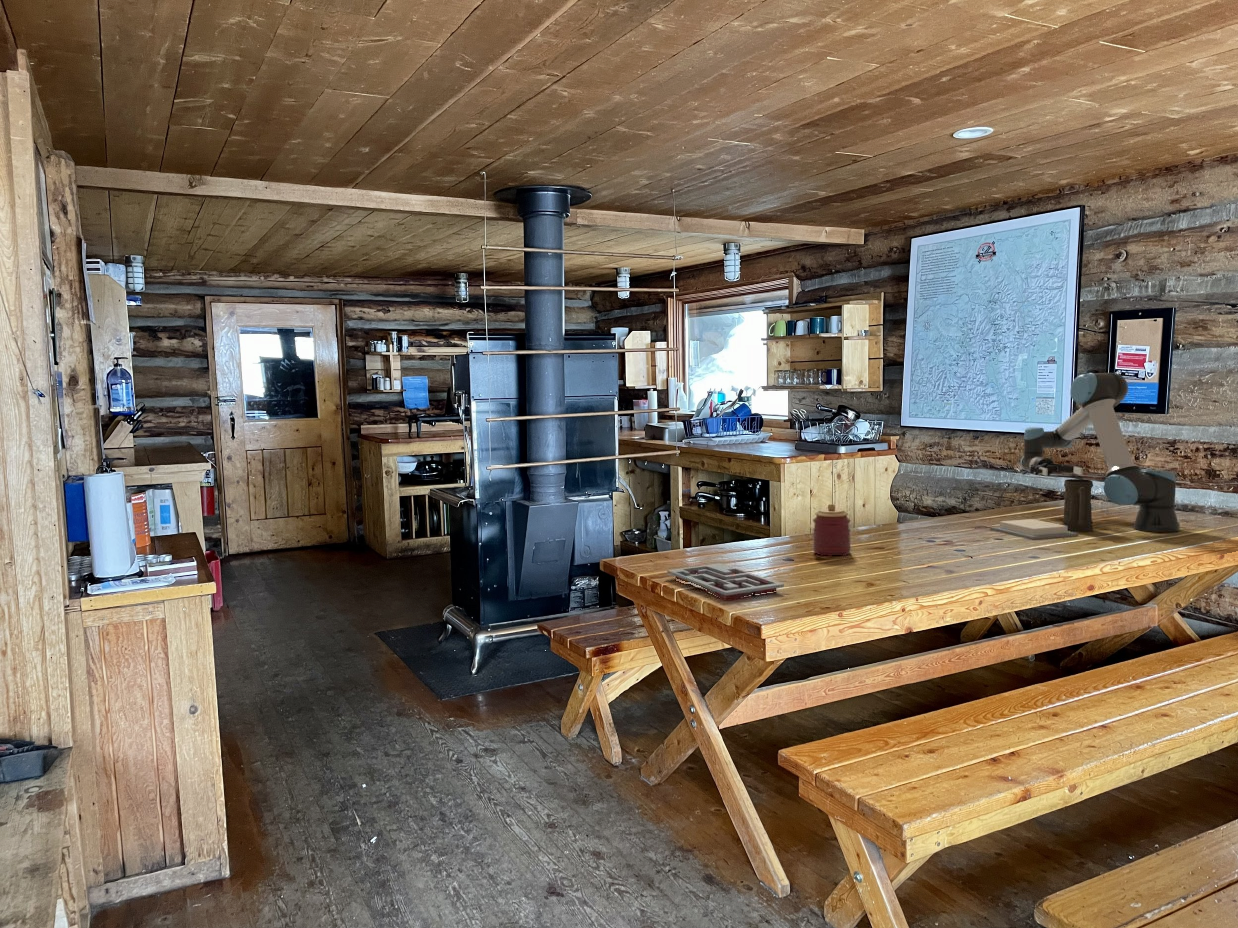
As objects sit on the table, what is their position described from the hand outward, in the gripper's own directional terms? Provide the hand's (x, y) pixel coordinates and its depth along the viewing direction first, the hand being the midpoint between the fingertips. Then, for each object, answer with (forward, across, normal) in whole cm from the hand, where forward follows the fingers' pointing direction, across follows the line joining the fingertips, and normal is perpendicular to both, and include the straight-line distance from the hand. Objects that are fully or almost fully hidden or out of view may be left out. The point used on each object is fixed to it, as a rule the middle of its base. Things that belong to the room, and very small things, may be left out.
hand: (1064, 472), depth 353 cm
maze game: (+97, +141, -22) cm, 172 cm away
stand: (+15, +18, -22) cm, 31 cm away
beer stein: (+13, -1, -22) cm, 25 cm away
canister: (+49, +100, -22) cm, 113 cm away
